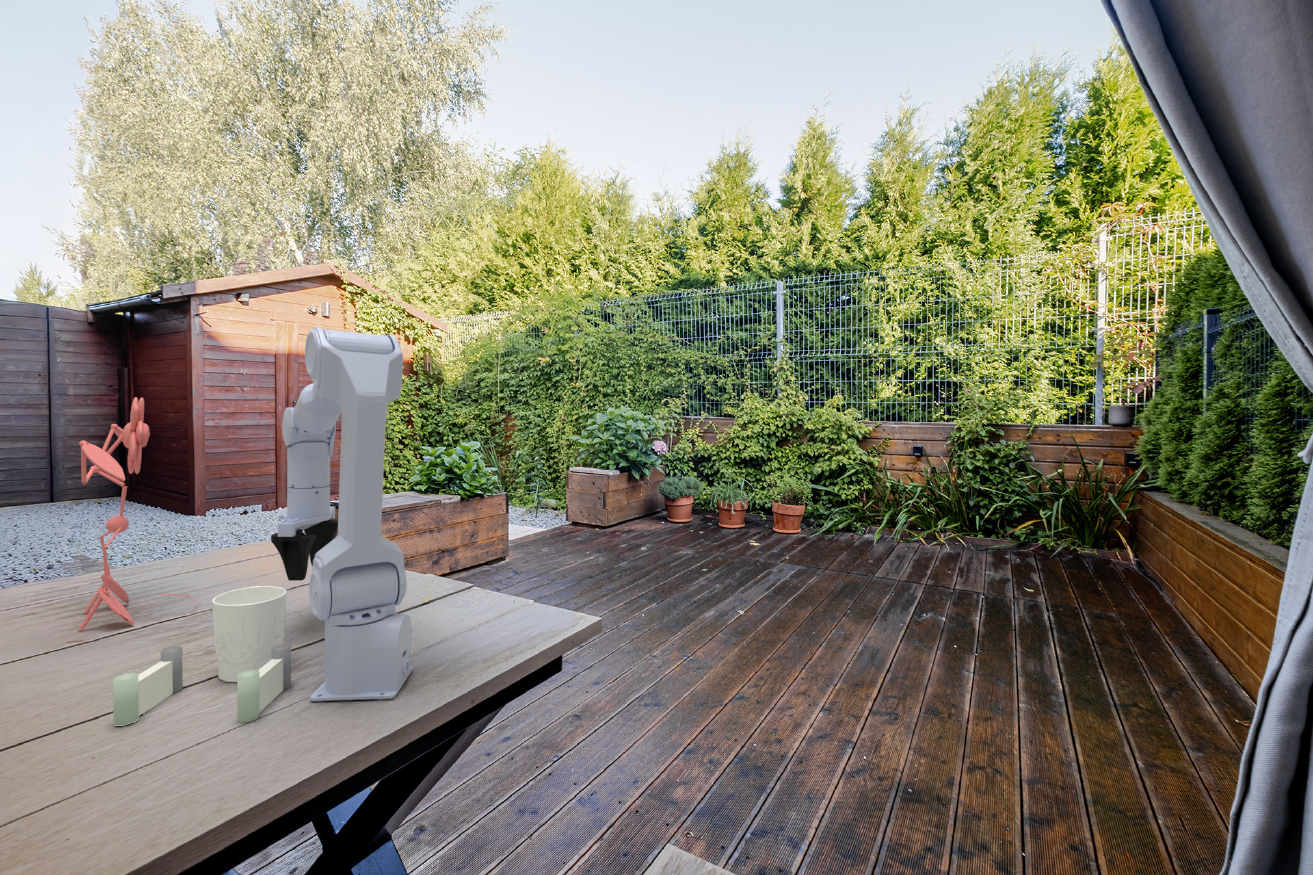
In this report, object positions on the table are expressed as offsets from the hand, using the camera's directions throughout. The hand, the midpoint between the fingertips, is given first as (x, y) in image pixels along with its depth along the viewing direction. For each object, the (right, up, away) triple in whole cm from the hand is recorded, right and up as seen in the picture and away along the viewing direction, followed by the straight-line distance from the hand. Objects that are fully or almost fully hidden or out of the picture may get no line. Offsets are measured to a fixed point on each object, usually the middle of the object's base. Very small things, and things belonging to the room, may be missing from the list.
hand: (308, 572), depth 91 cm
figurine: (-29, -8, +3) cm, 30 cm away
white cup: (+2, -9, -15) cm, 18 cm away
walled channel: (+3, -10, -24) cm, 26 cm away
